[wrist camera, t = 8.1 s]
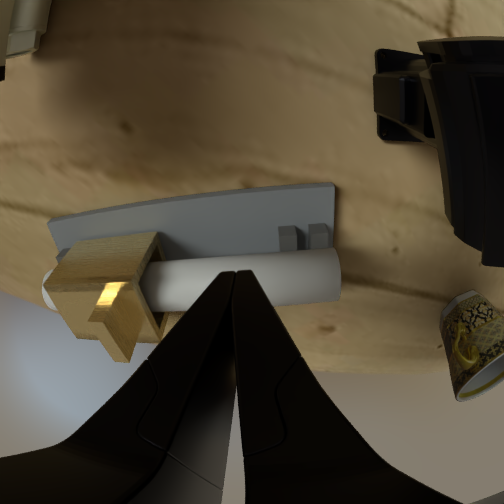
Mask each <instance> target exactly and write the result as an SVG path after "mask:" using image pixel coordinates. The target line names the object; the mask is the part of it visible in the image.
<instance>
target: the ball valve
mask: <svg viewBox="0 0 504 504" xmlns="http://www.w3.org/2000/svg"><path fill="white" fill-rule="evenodd" d="M51 1H52V0H0V82H1V81H3V80H5V64H6V59H10V58H14V57H18V56H22V55H26V54H29V53H32V52H35V51H37V50H38V49H39V44H40V36H41V35H42V34H44V33H46V29H47V22H48V16H49V11H50V6H51Z"/></svg>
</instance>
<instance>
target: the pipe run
mask: <svg viewBox="0 0 504 504" xmlns="http://www.w3.org/2000/svg"><path fill="white" fill-rule="evenodd" d="M334 197H335V186H334V185H333V183H313V184H297V185H283V186H270V187H259V188H248V189H238V190H228V191H219V192H210V193H202V194H194V195H186V196H178V197H171V198H164V199H157V200H151V201H144V202H138V203H132V204H126V205H120V206H114V207H108V208H103V209H97V210H92V211H87V212H82V213H77V214H72V215H67V216H62V217H58V218H53V219H51V220H50V221H49V222H47V225H48V228H49V230H50V232H51V235H52V237H53V239H54V241H55V244H56V246H57V248H58V250H59V252H60V253H59V254H58V255H57V257H56V259H57V261H58V263H59V262H60V261H61V260H62V259H63V257H64V256H65V255H66V254H67V252H68V251H69V250H70V249H71V248H72V246H73V245H74V244H75V243H76V242H77V241H84V240H91V239H99V238H107V237H115V236H123V235H131V234H139V233H148V232H158V236H159V239H160V242H161V245H162V248H163V251H164V255H165V258H166V261H159V262H148V263H147V266H146V268H145V270H144V272H143V274H142V276H141V278H140V280H139V282H138V284H139V286H140V289H141V291H142V293H143V295H144V298H145V300H146V302H147V304H148V306H149V309H150V311H151V312H165V311H187V310H188V309H189V308H190V306H191V305H192V304H193V303H194V302H195V301H196V299H197V298H198V297H199V296H200V295H201V294H202V292H203V291H204V290H205V289H206V288H207V287H208V285H209V284H210V283H211V282H212V281H213V280H214V278H215V277H216V276H217V275H218V274H219V273H220V272H222V271H235V272H237V271H238V270H249V269H250V270H252V271H253V273H254V274H255V276H256V278H257V279H258V281H259V283H260V285H261V286H262V288H263V290H264V292H265V293H266V295H267V297H268V299H269V300H270V302H271V304H272V305H273V306H286V305H298V304H309V303H320V302H330V301H338V300H339V298H340V293H341V271H340V263H339V258H338V255H337V252H336V250H335V248H333V229H334ZM53 270H54V269H53ZM53 270H50V271H49V272H47V274H46V275H45V277H44V279H43V284H44V282H45V281H46V280H47V278H48V277H49V275H50V274H51V273H52V272H53ZM43 284H42V293H43V298H44V300H45V302H46V304H47V305H48V307H49V308H51V309H52V310H57V308H56V307H55V305H54V303H53V302H52V300H51V298H50V297H49V295H48V293H47V292H46V290H45V288H44V287H43Z"/></svg>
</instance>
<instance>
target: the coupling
mask: <svg viewBox="0 0 504 504" xmlns="http://www.w3.org/2000/svg"><path fill="white" fill-rule="evenodd" d="M159 261H166V258H165V255H164V251H163V248H162V245H161V242H160V239H159V236H158V232H148V233H139V234H131V235H123V236H115V237H107V238H99V239H91V240H84V241H77V242H76V243H75V244H74V245H73V246H72V248H71V249H70V250H69V251H68V252H67V254H66V255H65V256H64V257H63V259H62V260H61V261H60V262H59V264H58V265H57V266H56V268H55V269H54V270H53V272H52V273H51V274H50V275H49V277H48V278H47V280H46V281H45V282H44V284H43V287H44V288H45V290H46V292H47V293H48V295H49V297H50V298H51V300H52V302H53V303H54V305H55V307H56V308H57V310H58V311H59V313H60V314H61V316H62V317H63V319H64V320H65V322H66V323H67V325H68V326H69V328H70V329H71V331H72V332H73V334H74V335H75V336H76V338H78V339H89V340H100V342H101V343H102V345H103V346H104V347H105V349H106V350H107V352H108V353H109V355H110V356H111V357H112V359H113V360H114V361H115V362H124V363H129V362H130V360H131V356H132V354H133V350H134V347H135V345H136V343H160V342H161V340H162V336H163V333H164V329H165V326H166V323H167V319H168V316H169V313H170V311H165V312H151V311H150V309H149V306H148V304H147V302H146V300H145V298H144V295H143V293H142V291H141V289H140V286H139V284H138V282H139V280H140V278H141V276H142V274H143V272H144V270H145V268H146V266H147V263H148V262H159Z"/></svg>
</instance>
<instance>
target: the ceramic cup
mask: <svg viewBox="0 0 504 504" xmlns="http://www.w3.org/2000/svg"><path fill="white" fill-rule="evenodd" d="M440 331H441V336H442V339H443V343H444V347H445V351H446V355H447V359H448V363H449V369H450V376H451V381H452V386H453V391H454V394H455V398H456V400H457V401H460V402H462V401H467V400H470V399H473V398H476V397H478V396H480V395H482V394H484V393H486V392H487V391H489V390H491V389H492V388H493V387H495V386H496V385H498V384H499V383H500V382H502V381H503V380H504V317H503V316H502V315H501V314H500V313H499V312H498V311H497V310H496V309H495V308H494V306H492V305H491V303H490V302H489V301H488V300H487V299H486V298H485V297H483V296H482V295H481V294H479V293H477V292H476V291H474V290H471V291H468V292H466V293H464V294H461V295H459V296H457V297H455V298H454V299H453V300H452V301H451V302H450V303H449V304H448V306H447V307H446V308H445V309H444V310H443V311H442V313H441V319H440Z"/></svg>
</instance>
